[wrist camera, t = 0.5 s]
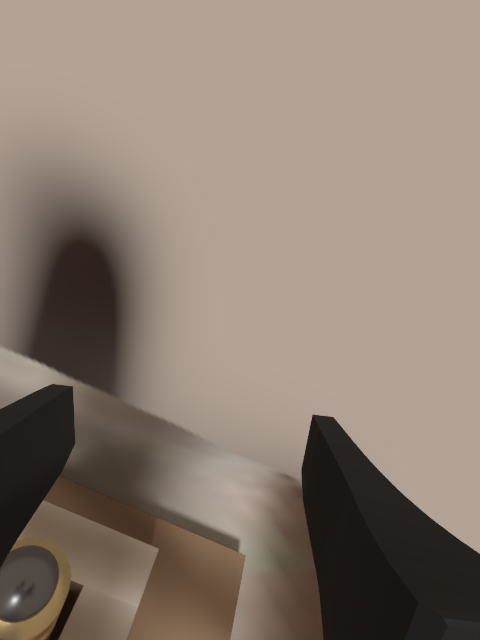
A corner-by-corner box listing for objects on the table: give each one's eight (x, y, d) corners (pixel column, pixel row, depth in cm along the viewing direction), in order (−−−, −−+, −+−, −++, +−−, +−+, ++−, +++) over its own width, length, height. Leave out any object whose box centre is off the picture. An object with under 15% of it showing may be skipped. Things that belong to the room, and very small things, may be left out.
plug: (24, 692, 19) (39, 651, 14) (-47, 665, 19) (-55, 614, 14) (64, 609, 22) (88, 551, 17) (3, 585, 21) (11, 518, 17)
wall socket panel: (149, 1007, 15) (185, 1047, 13) (-451, 806, 14) (-553, 804, 11) (237, 563, 28) (264, 537, 26) (-68, 434, 27) (-73, 392, 24)
